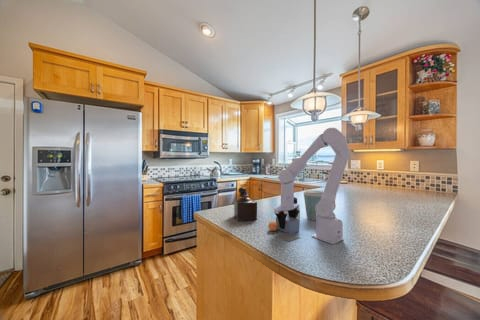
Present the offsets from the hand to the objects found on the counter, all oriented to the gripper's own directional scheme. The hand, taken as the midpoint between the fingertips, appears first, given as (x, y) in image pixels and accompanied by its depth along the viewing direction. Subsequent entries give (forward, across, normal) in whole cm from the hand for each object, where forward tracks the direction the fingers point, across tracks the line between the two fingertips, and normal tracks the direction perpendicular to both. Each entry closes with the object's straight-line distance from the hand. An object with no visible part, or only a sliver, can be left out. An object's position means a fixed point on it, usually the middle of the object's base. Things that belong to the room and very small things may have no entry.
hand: (287, 226), depth 91 cm
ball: (-1, +6, -3) cm, 7 cm away
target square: (+1, +6, +6) cm, 8 cm away
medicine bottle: (+2, -12, -8) cm, 15 cm away
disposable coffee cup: (+2, -24, -3) cm, 24 cm away
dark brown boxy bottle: (+2, +6, -23) cm, 24 cm away
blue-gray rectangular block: (+1, 0, 0) cm, 1 cm away
